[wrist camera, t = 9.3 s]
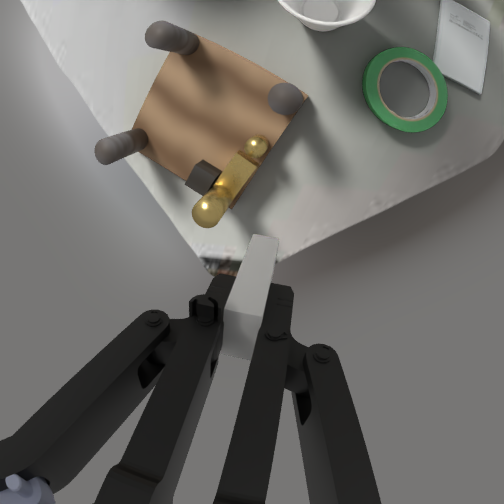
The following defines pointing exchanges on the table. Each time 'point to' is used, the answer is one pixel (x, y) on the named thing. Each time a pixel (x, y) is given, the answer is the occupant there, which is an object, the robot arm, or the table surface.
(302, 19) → the cup
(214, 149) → the wooden peg board
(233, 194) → the leg
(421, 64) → the tape roll
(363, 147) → the table surface
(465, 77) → the external hard drive
